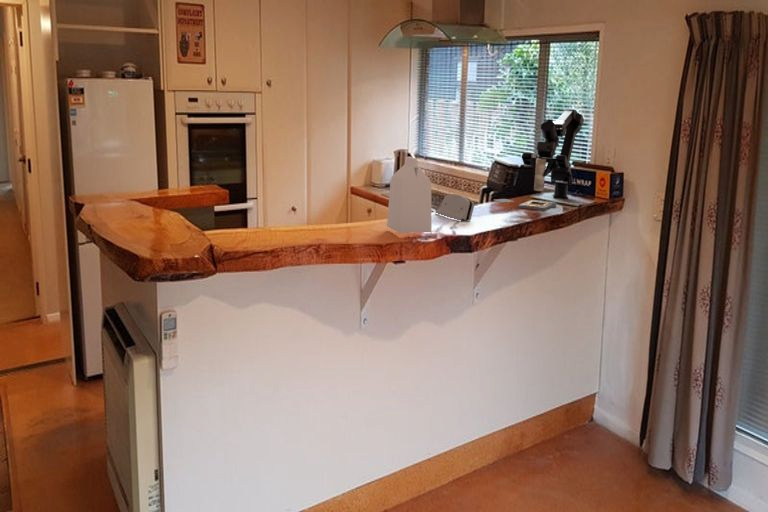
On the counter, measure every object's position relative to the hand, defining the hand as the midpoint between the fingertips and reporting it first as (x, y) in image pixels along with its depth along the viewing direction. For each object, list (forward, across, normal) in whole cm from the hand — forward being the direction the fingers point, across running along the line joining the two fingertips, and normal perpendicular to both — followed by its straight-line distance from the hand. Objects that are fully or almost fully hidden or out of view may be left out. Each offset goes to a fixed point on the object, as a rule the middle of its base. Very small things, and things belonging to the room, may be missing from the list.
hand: (538, 175), depth 285 cm
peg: (+3, 0, +5) cm, 6 cm away
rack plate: (+8, 0, +10) cm, 13 cm away
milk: (+63, -19, -44) cm, 79 cm away
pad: (+6, -17, +13) cm, 22 cm away
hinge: (+38, -18, -19) cm, 46 cm away
